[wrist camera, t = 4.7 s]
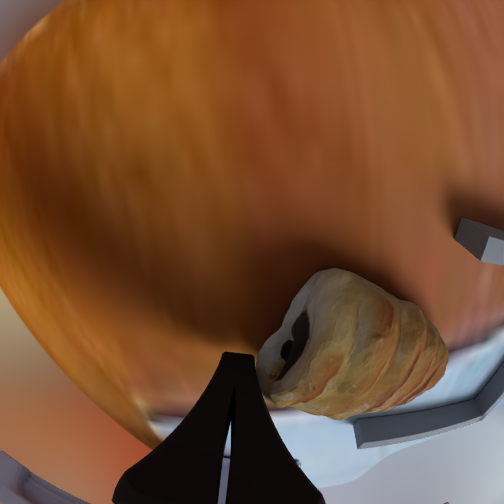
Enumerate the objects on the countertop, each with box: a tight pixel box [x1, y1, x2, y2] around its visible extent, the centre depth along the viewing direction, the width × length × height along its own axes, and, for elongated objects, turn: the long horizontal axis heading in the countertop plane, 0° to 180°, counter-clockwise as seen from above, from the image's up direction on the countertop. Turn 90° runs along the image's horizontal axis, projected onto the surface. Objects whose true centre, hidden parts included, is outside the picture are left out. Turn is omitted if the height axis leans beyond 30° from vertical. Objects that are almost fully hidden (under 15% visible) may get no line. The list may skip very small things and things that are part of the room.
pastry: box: [256, 268, 448, 420], centre depth 10 cm, size 9×7×4 cm
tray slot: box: [353, 217, 504, 449], centre depth 12 cm, size 15×13×2 cm
